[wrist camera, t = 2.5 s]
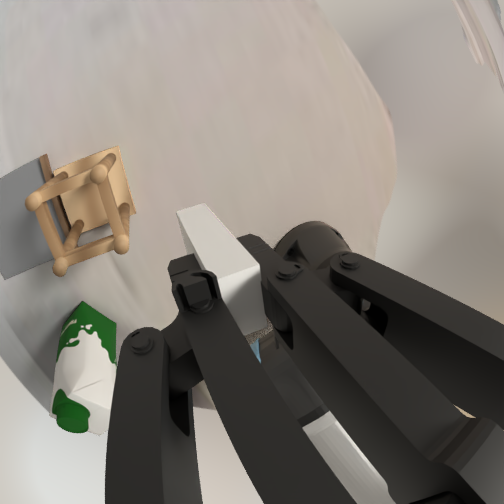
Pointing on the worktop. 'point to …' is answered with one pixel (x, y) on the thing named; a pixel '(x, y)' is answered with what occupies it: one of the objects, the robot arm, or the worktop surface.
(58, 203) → the strip
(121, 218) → the stool
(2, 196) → the mat
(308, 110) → the worktop surface
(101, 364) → the milk carton
